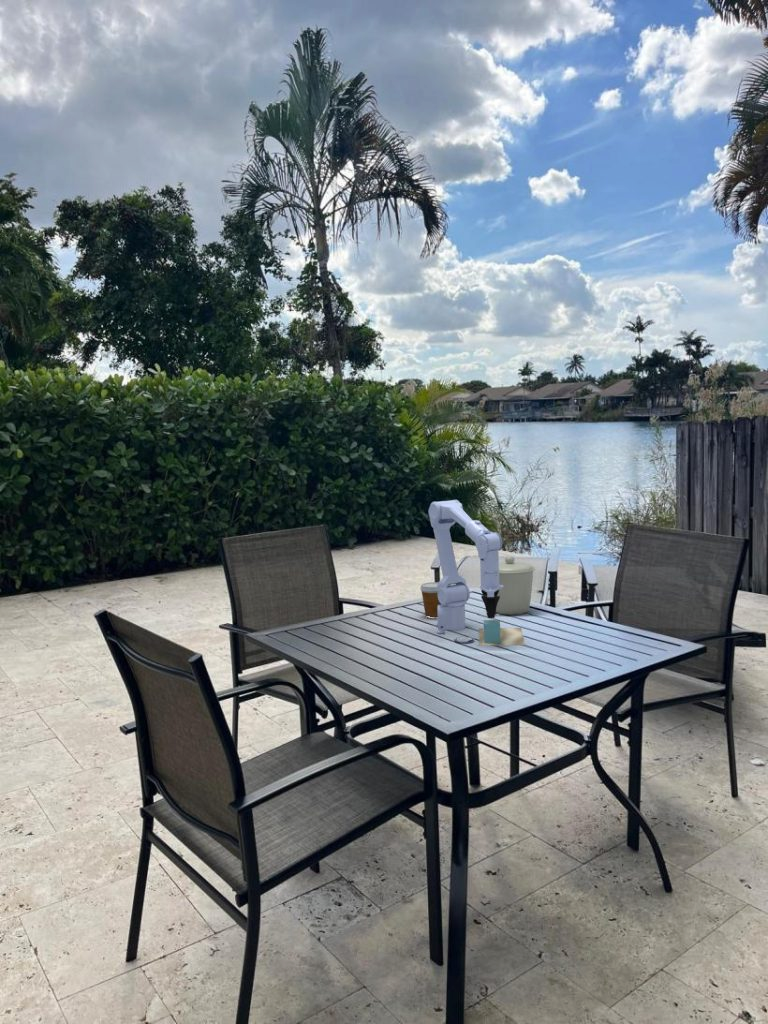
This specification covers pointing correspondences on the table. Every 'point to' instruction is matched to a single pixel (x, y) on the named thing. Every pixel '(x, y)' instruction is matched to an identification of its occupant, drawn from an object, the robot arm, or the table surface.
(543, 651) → the table surface
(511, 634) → the base board
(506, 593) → the canister
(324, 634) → the table surface
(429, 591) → the disposable coffee cup
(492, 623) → the housing
